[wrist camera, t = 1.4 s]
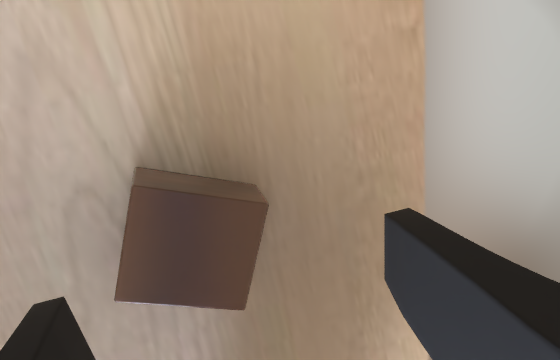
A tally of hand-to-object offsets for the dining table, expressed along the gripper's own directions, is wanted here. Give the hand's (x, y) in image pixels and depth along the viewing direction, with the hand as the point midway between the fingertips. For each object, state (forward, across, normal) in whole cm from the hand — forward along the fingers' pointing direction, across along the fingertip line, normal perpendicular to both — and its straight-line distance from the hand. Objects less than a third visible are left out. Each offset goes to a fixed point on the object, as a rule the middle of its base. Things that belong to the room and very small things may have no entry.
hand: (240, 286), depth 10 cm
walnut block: (+12, +2, +6) cm, 14 cm away
